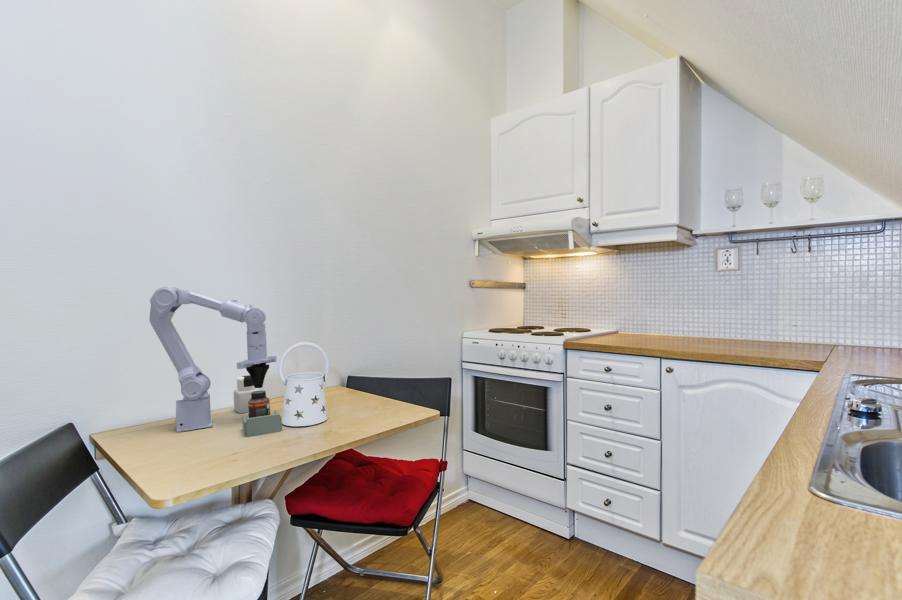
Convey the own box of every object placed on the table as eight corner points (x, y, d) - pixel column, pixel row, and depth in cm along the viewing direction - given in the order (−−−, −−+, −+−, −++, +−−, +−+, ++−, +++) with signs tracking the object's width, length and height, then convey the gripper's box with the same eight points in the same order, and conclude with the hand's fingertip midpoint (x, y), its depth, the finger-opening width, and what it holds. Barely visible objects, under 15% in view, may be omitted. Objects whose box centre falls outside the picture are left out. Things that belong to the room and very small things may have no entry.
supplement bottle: (275, 427, 135) (273, 390, 135) (257, 433, 130) (256, 394, 130) (262, 425, 138) (260, 388, 138) (244, 430, 133) (243, 392, 133)
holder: (245, 437, 127) (244, 419, 127) (242, 428, 135) (242, 412, 135) (282, 431, 132) (281, 414, 132) (278, 423, 140) (277, 407, 140)
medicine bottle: (255, 406, 163) (253, 373, 163) (261, 410, 158) (259, 376, 158) (234, 410, 159) (232, 376, 159) (239, 414, 153) (238, 379, 153)
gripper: (248, 348, 136) (249, 393, 137) (283, 343, 150) (284, 383, 150) (231, 348, 139) (232, 391, 139) (266, 342, 153) (268, 382, 153)
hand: (258, 387), depth 145 cm, fingers closed
